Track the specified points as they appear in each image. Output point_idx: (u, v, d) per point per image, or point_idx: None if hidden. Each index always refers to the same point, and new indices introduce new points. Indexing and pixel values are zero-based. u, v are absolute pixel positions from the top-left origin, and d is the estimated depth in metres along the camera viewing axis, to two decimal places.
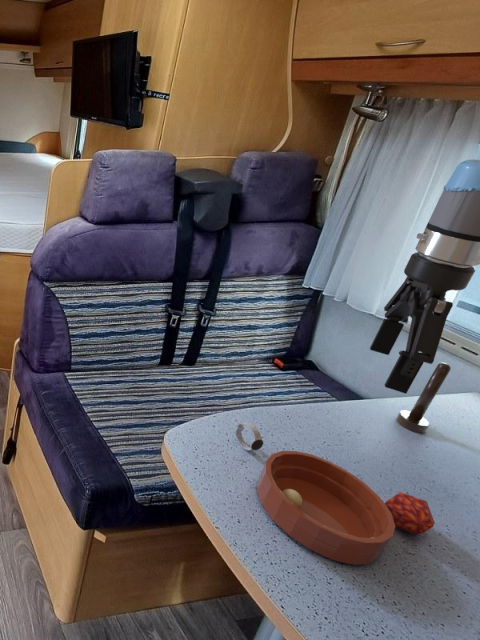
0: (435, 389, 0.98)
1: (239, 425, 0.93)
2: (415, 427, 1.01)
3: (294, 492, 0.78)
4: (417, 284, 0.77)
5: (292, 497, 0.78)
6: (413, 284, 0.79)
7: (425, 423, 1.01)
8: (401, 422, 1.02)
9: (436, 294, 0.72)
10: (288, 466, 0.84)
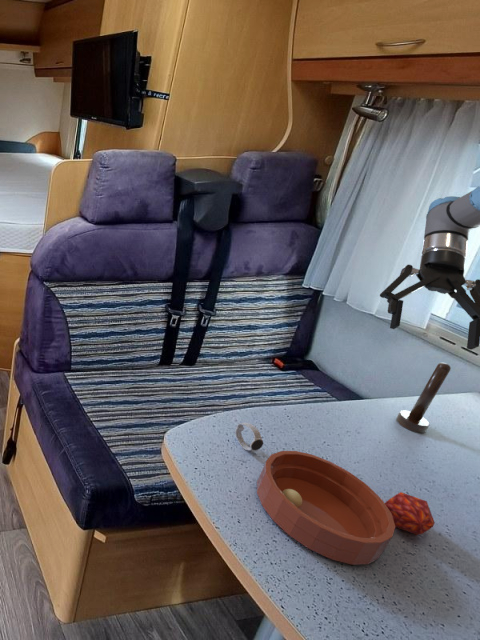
0: (435, 389, 0.98)
1: (239, 425, 0.93)
2: (415, 427, 1.01)
3: (294, 492, 0.78)
4: None
5: (292, 497, 0.78)
6: None
7: (425, 423, 1.01)
8: (401, 422, 1.02)
9: None
10: (288, 466, 0.84)
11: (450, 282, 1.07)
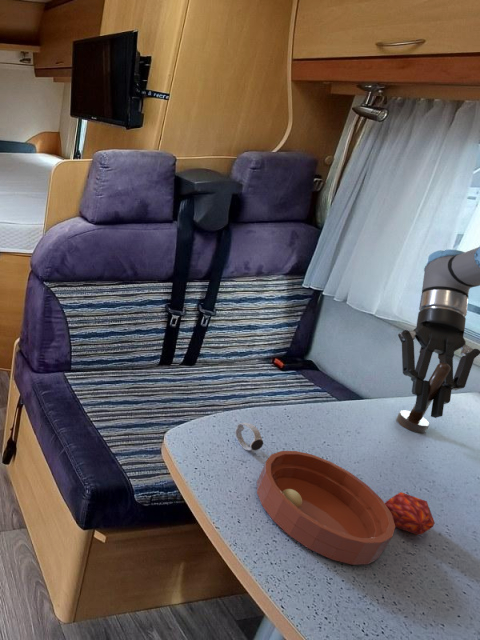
0: (435, 389, 0.98)
1: (239, 425, 0.93)
2: (415, 427, 1.01)
3: (294, 492, 0.78)
4: None
5: (292, 497, 0.78)
6: None
7: (425, 423, 1.01)
8: (401, 422, 1.02)
9: None
10: (288, 466, 0.84)
11: (449, 343, 1.00)
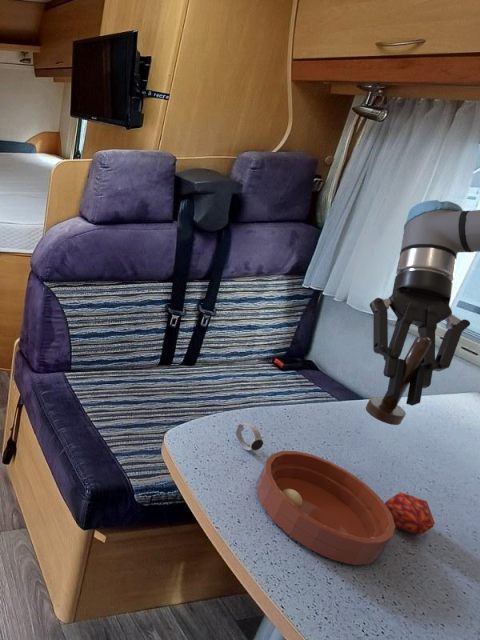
0: (412, 369, 0.78)
1: (239, 425, 0.93)
2: (387, 417, 0.81)
3: (294, 492, 0.78)
4: None
5: (292, 497, 0.78)
6: None
7: (400, 413, 0.81)
8: (371, 412, 0.82)
9: (393, 295, 0.85)
10: (288, 466, 0.84)
11: (431, 313, 0.80)
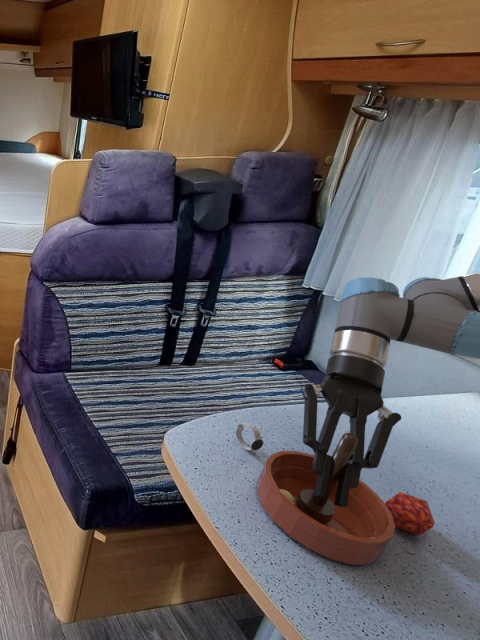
0: (340, 467, 0.73)
1: (239, 425, 0.93)
2: (316, 516, 0.76)
3: None
4: None
5: None
6: None
7: (330, 510, 0.76)
8: (301, 507, 0.77)
9: None
10: (288, 466, 0.84)
11: (361, 404, 0.75)
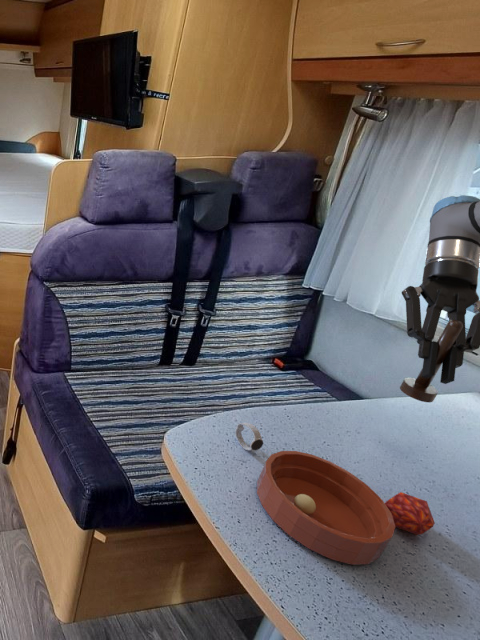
0: (445, 350, 0.85)
1: (239, 425, 0.93)
2: (422, 395, 0.88)
3: (315, 506, 0.77)
4: None
5: (313, 506, 0.77)
6: None
7: (433, 391, 0.88)
8: (406, 391, 0.90)
9: None
10: (288, 466, 0.84)
11: (460, 299, 0.88)
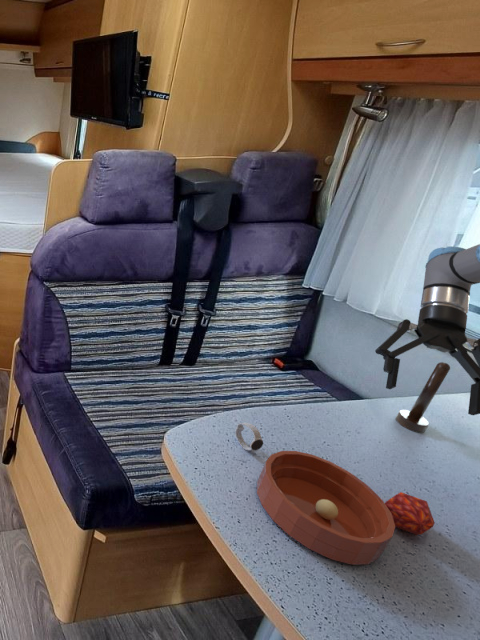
0: (435, 388, 0.98)
1: (239, 425, 0.93)
2: (415, 426, 1.01)
3: None
4: None
5: (330, 519, 0.77)
6: None
7: (425, 422, 1.01)
8: (401, 422, 1.03)
9: (419, 324, 1.04)
10: (288, 466, 0.84)
11: (450, 340, 1.00)
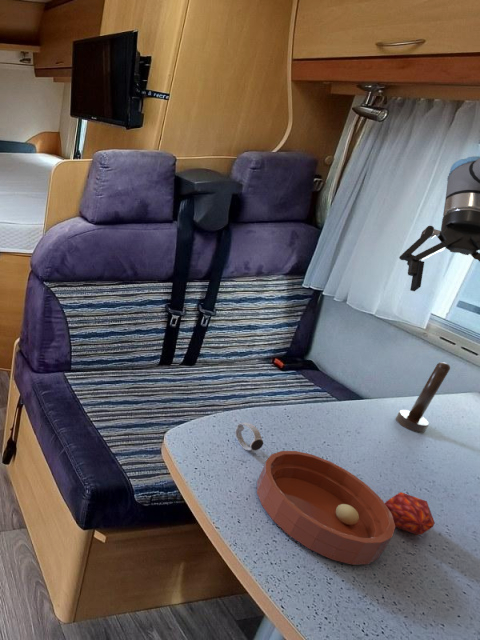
0: (435, 388, 0.98)
1: (239, 425, 0.93)
2: (415, 426, 1.01)
3: (344, 510, 0.76)
4: None
5: (343, 517, 0.76)
6: None
7: (425, 422, 1.01)
8: (401, 422, 1.03)
9: (442, 230, 1.07)
10: (288, 466, 0.84)
11: (473, 242, 1.03)
